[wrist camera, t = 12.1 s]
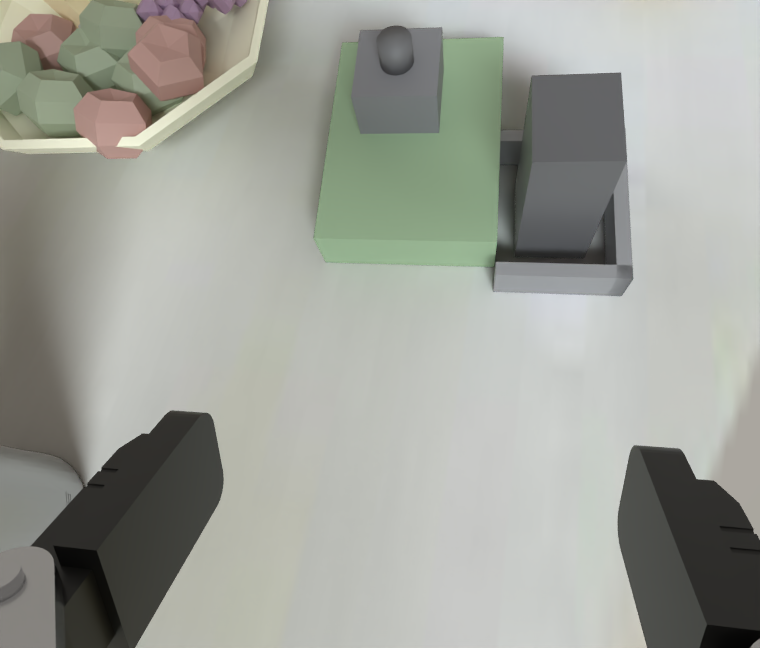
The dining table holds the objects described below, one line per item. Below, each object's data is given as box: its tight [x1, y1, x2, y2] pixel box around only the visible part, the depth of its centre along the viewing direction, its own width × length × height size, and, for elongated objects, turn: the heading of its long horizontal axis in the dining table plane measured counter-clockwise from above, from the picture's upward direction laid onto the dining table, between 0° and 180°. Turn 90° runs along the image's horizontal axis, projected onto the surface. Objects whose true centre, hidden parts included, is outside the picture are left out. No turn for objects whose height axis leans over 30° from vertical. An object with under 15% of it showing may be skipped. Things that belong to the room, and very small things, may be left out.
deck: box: [314, 26, 633, 296], centre depth 41 cm, size 22×20×10 cm
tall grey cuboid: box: [514, 73, 627, 258], centre depth 38 cm, size 5×6×12 cm
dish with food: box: [0, 0, 269, 159], centre depth 47 cm, size 28×28×14 cm
